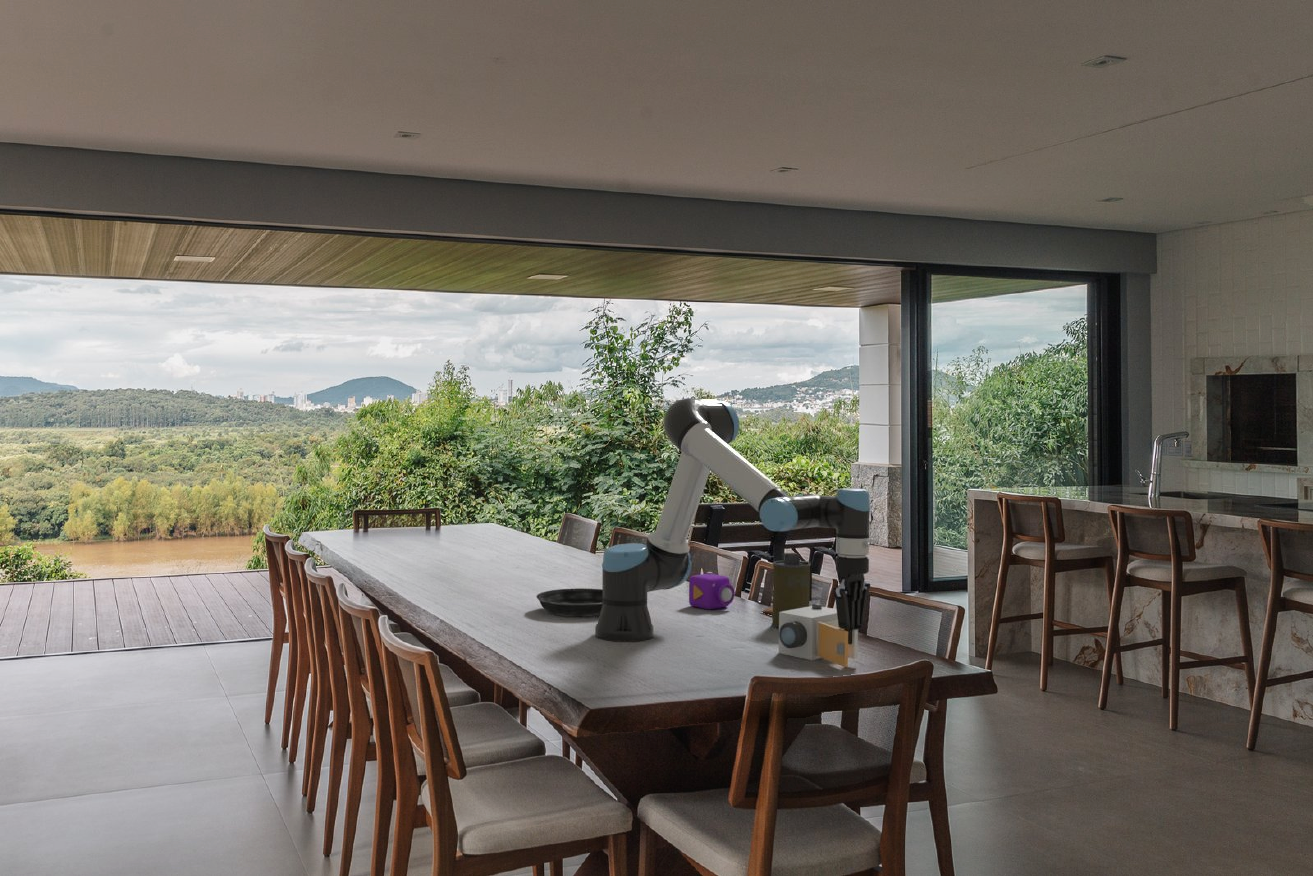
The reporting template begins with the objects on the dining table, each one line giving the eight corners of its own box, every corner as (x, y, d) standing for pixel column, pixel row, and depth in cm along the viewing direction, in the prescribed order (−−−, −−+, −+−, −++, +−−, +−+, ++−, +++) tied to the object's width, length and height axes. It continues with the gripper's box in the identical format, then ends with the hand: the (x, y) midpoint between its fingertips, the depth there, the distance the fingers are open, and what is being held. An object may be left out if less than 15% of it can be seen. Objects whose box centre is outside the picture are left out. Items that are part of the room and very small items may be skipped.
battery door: (811, 655, 252) (812, 621, 252) (819, 655, 253) (819, 621, 253) (840, 667, 241) (841, 632, 241) (848, 666, 242) (848, 631, 241)
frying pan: (577, 624, 292) (577, 599, 292) (518, 612, 309) (518, 588, 309) (683, 605, 323) (684, 583, 323) (625, 595, 341) (625, 573, 341)
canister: (780, 630, 286) (781, 556, 286) (765, 623, 296) (766, 551, 296) (817, 628, 289) (818, 555, 289) (801, 621, 299) (802, 550, 299)
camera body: (803, 662, 249) (804, 615, 249) (769, 655, 257) (770, 609, 256) (847, 651, 262) (848, 607, 261) (813, 645, 269) (814, 601, 269)
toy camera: (722, 613, 311) (722, 579, 311) (684, 607, 319) (684, 574, 319) (742, 608, 319) (742, 574, 319) (704, 602, 328) (705, 570, 328)
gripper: (851, 559, 239) (850, 664, 240) (881, 554, 249) (879, 655, 249) (823, 556, 244) (821, 659, 245) (852, 551, 254) (851, 650, 254)
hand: (850, 657), depth 247 cm, fingers closed
